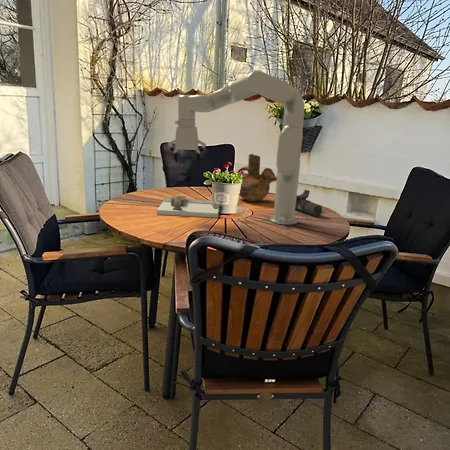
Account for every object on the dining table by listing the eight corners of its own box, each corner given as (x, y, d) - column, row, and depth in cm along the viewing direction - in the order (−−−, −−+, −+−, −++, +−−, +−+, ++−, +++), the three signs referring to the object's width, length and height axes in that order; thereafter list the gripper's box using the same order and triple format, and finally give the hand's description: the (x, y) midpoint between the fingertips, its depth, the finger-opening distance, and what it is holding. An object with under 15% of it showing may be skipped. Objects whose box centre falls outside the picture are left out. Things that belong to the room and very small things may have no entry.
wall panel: (217, 217, 192) (218, 210, 191) (156, 214, 193) (156, 206, 192) (219, 205, 215) (220, 198, 214) (165, 202, 216) (165, 195, 215)
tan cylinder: (180, 214, 195) (180, 197, 193) (173, 213, 195) (174, 196, 193) (181, 212, 198) (181, 195, 196) (174, 212, 198) (175, 195, 196)
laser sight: (308, 218, 201) (311, 197, 198) (281, 207, 220) (283, 188, 217) (324, 216, 206) (327, 196, 203) (296, 206, 225) (298, 187, 222)
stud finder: (183, 205, 201) (183, 199, 201) (170, 205, 202) (171, 198, 201) (185, 202, 209) (185, 195, 208) (173, 201, 209) (173, 195, 208)
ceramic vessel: (269, 207, 217) (273, 158, 210) (225, 199, 229) (227, 153, 222) (281, 201, 232) (285, 156, 225) (239, 195, 244) (242, 151, 237)
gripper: (166, 123, 185) (167, 162, 190) (205, 124, 185) (205, 163, 190) (168, 123, 193) (169, 160, 197) (206, 123, 193) (206, 161, 197)
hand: (187, 162), depth 194 cm, fingers open, 9 cm apart
